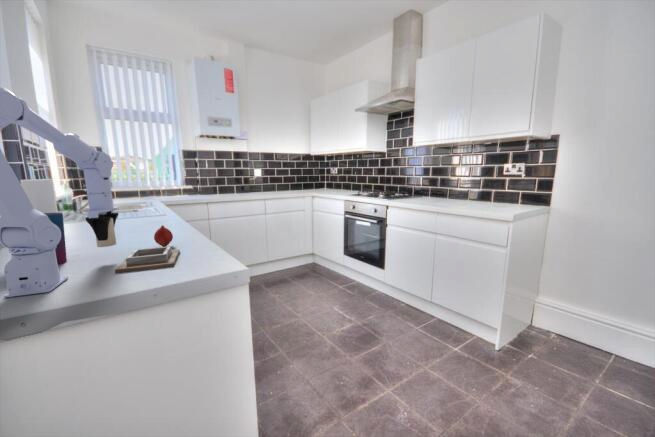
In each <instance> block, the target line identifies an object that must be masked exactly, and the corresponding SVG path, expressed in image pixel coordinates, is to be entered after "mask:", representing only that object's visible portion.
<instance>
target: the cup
mask: <svg viewBox="0 0 655 437" xmlns="http://www.w3.org/2000/svg"><path fill="white" fill-rule="evenodd" d="M44 214H45V215H47V216H48V218H49V219H50V221H51V222H52V223H53V224H55V225H57V226H58V227H59V229H60V231H61V240H60V242H59V243H58V245H56V246H57V248H56V249H55V252H56V258H57V264H58V265H61V264H64V263H67V260H68V259H67V258H68V257H67V248H66V247H67V246H66V237H65V236H66V235H65V225H64V213H63V212H58V213H44Z"/></svg>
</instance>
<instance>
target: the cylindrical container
mask: <svg viewBox="0 0 655 437" xmlns="http://www.w3.org/2000/svg"><path fill="white" fill-rule="evenodd" d="M19 182H20V184H21V186H22V188H23V189H24V191H25V193H26V195H27V196H28V198H29V200H30V202H31V203H32V205H33V207H34V208H35V209H36V210H38V211H40V212H42V213H59V211H58V203H57V199H56V198H57V197H56V192H55V188H54V181H53V178H43V179H41V178H39V179H34V178H33V179H20V181H19Z"/></svg>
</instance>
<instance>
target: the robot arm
mask: <svg viewBox="0 0 655 437" xmlns="http://www.w3.org/2000/svg"><path fill="white" fill-rule="evenodd" d="M10 124H12V125H18V126H20V127H22V128H24V129H25V130H27V131H29V132H30V133H33V134H35V135H37V136H39V137H40V138H41V139H44V140H46V141H47V142H49V143H51V144H52V146H53V149H54V151H56V152H57V153H59V154H61V155H62V156H64V157H66V158H68V159H70V160H71V161H73V162H74V163H75V164H76V167H78V169H79V170H80V171H83V175H84V182H85V189H86V195H87V202H88V203H87V204H88V210H87V215H88V216H87V217H85V222H87V223H88V224H89V226H90V227H91V229H92V230H93V233H94V234H95V238H96V237H97V239H98V241H103V240H107V239H108V226H109V221H110V219H111V218H113V223H114V228H115V225H116V220H117V219H118V216H119V212H115V211H117V210H119V207H118V206H114V201H113V200H114V199H113V193H112V186H111V179H110V178H111V176H112V169H113V167H114V161H113V160H112V158H111V156H110V155H109V154H107V153H106V152H104V151H98V150H97V149H95V147H93V146H92V145H89V144H88V143H86V142H85V141H84V140H82V139H80V136H79V135H78V134H76V133H74V134H73V133H70V132H65V133H63V132H62V131H61V130H60V129H58V128H57V127H55V126H54V125H53V124H51V123H50V122H49V121H47V120H46V119H44V118H43V117H42V116H41V115H40V114H38V113H37V112H35V111H34V110H32V109H31V108H30V107H29V105H28V104H27V102H26V100H24V99H23V98H21V97H19V96H17V95H16V94H15V93H13V91H11V90H9V89H7V88H5V87H0V132H1V131H2V130H3V129H4V128H5V127H8V126H9V125H10ZM60 240H61V231H60V229H59V227H58V226H57V225H55V224H53V223H52V222H51V221H50V219H49V218H48V216H47V215H45V214H44V213H42V212H40V211H38V210H36V209H35V208H34V207H33V205H32V203H31V202H30V200H29V198H28V196H27V195H26V193H25V191H24V189H23V188H22V186H21V182H20V181H19V179H18V177H17V175H16V173H15V172H14V169H13V168H12V167H11V165H10V163H9V161H8V159H7V158H6V156H5V154H4V152H3V150H2V148H0V244H1V245H2V246H3V247H4V248H7V249H8V253H11V258H10V260H9V261H8V262H7V263H6V264H5V266H4V270H3V271H4V273H3V274H4V278H5V283H6V288H7V291H8V292H7V293H5V294H4V295H3V298H11V297H20V296H28V295H35V294H36V295H37V294H43V293H49V292H51V291H53V289H56V288H57V287H58V286H59V285H61V284H62V283H64V282H65V281H66V280H68V279H69V276H61V275H60V272H59V264H57V258H56V252H55V249H56V248H57V246H56V245H58V243H59V242H60Z"/></svg>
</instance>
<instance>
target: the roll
mask: <svg viewBox="0 0 655 437" xmlns="http://www.w3.org/2000/svg"><path fill="white" fill-rule="evenodd" d="M95 239H96V246H97V248H106V247H111V246H115V245H117V241H116V240H117V239H116V232H115V227H114V223H113V218H111V219H110V221H109V226H108V239H107V240H103V241H98V239H97V237H96V236H95Z"/></svg>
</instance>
